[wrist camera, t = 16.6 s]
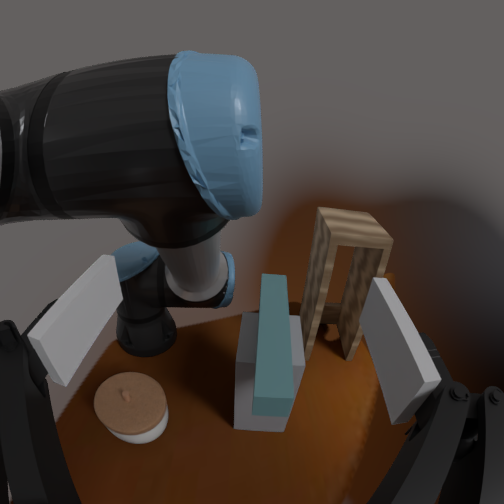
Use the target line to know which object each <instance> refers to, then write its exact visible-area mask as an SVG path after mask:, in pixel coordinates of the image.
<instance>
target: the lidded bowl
mask: <svg viewBox="0 0 504 504" xmlns="http://www.w3.org/2000/svg"><path fill="white" fill-rule="evenodd" d="M94 408H95V412H96V414H97V416H98V418H99V419H100V421H101V422H102V423H103V424H104V425H105V426H106V427H107V429H108V430H109V431H110V432H111V433H113V434H114V435H115V436H117V437H118V438H120V439H122V440H124V441H126V442H129V443H135V444H143V443H148V442H151V441H153V440H155V439H156V438H158V437H159V436H160V435H161V434H162V433H163V431H164V430H165V428H166V425H167V422H168V406H167V402H166V396H165V393H164V391H163V389H162V387H161V386H160V384H159V383H158V382H157V381H156V380H154V379H153V378H151V377H149V376H147V375H145V374H142V373H137V372H125V373H120V374H116V375H114V376H112V377H110V378H108V379H107V380H106V381H104V382H103V383H102V384H101V385H100V387H99V388H98V390H97V392H96V394H95V398H94Z"/></svg>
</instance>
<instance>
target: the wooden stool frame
mask: <svg viewBox="0 0 504 504" xmlns="http://www.w3.org/2000/svg"><path fill="white" fill-rule="evenodd" d="M392 244H393V239H392V238H391V236H390V235H389V234H388V233H387V232H386V231H385V230H384V229H383V228H382V227H381V226H380V225H379V224H378V222H376V220H375V219H374V218H373V217H372V216H371V215H370V214H369V213H366V212H358V211H350V210H342V209H333V208H324V207H318V208H317V215H316V222H315V229H314V235H313V241H312V247H311V254H310V260H309V265H308V271H307V277H306V282H305V287H304V293H303V298H302V303H301V308H300V313H299V316H300V322H301V330H302V339H303V348H304V358H305V360H309V358H310V355H311V352H312V348H313V345H314V341H315V338H316V334H317V330H318V327H319V324H337V328H338V332H339V335H340V339H341V343H342V347H343V351H344V355H345V359H346V361H352V359H353V356H354V354H355V352H356V349H357V347H358V344H359V342H360V340H361V337H362V335H363V331H362V328H361V325H360V322H359V319H360V316H361V313H362V310H363V307H364V304H365V301H366V298H367V295H368V292H369V289H370V285H371V282H372V279H373V277H374V278H383V275H384V272H385V268H386V265H387V261H388V258H389V255H390V251H391V247H392ZM338 245H346V246H355V249H354V254H353V258H352V262H351V266H350V270H349V274H348V278H347V282H346V286H345V290H344V293H343V297H342V300H341V303H325V299H326V295H327V291H328V287H329V283H330V278H331V274H332V269H333V265H334V260H335V255H336V251H337V246H338Z"/></svg>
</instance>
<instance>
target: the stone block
mask: <svg viewBox="0 0 504 504" xmlns="http://www.w3.org/2000/svg"><path fill="white" fill-rule="evenodd" d="M258 319H259V313H252V312H243V314H242V321H241V328H240V335H239V342H238V349H237V356H236V370H235V405H234V429H242V430H254V431H272V432H284V429H285V426H286V424H287V421H288V418H289V415H290V412H291V409H292V406H293V403H294V400H295V397H296V394H297V391H298V388H299V385H300V382H301V378H302V375H303V372H304V368H305V358H304V348H303V339H302V330H301V322H300V316H293V315H289V319H290V334H291V349H292V366H293V384H294V400H293V403H292V406H291V409H290V412H289V415H288V417H274V416H256V415H252V403H253V390H254V376H255V363H256V348H257V334H258Z"/></svg>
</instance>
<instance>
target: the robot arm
mask: <svg viewBox="0 0 504 504" xmlns="http://www.w3.org/2000/svg"><path fill="white" fill-rule="evenodd" d="M262 169H263V165H262V128H261V108H260V96H259V85H258V78H257V74H256V71H255V69H254V68H253V66H252V65H251V64H250V63H249V62H248V61H246V60H245V59H243V58H241V57H238V56H234V55H222V54H200V53H198V52H195V51H182V52H179V53H178V54H175V55H160V56H149V57H140V58H132V59H125V60H119V61H113V62H108V63H102V64H97V65H92V66H88V67H83V68H79V69H76V70H72V71H69V72H63V73H60V74H56V75H53V76H50V77H47V78H43V79H41V80H38V81H34V82H31V83H28V84H24V85H21V86H18V87H15V88H11V89H7V90H2V91H0V225H4V224H8V223H15V222H24V221H32V220H53V219H54V220H57V219H88V218H119V219H120V221H121V222H122V223H123V225H124V226H125V228H126V229H127V230H128V231H129V232H130V233H131V234H132V235H133V236H134V237H135V238H136V239H138V240H139V242H133V243H130V244H127V245H125V246H122V247H120V248H119V249H117V250H116V251H114V252H113V253H112V254H111V255H102V256H101V257H100V258H99V259H98V260H96V261H95V262H94V263H93V264H92V265H91V266H90V267H89V268H88V269H87V270H86V271H85V272H84V273H83V274H82V275H81V276H80V277H79V278H78V279H77V280H76V281H75V282H74V284H72V285H71V287H70V288H69V289H68V290H67V291H66V292H65V293H64V294H63V295H62V296H61V297H60V298H59V299H56V300H54V301H53V302H51V303H50V304H48V305H47V307H46V308H45V309H44V310H43V311H42V313H40V314H39V315H38V317H37V318H36V319H35V320H34V321H33V322H32V323H31V324H30V325H29V327H28V328H27V329H26V330H25V332H24V333H23V334H22V335H20V334H19V332H18V330H17V327H16V325H15V324H14V322H13V321H11V320H4V321H2V322H0V504H9V497H8V483H9V487H10V491H11V495H12V499H13V503H14V504H81V501H80V499H79V497H78V494H77V492H76V489H75V487H74V484H73V481H72V479H71V476H70V473H69V470H68V467H67V464H66V461H65V458H64V455H63V451H62V448H61V444H60V441H59V437H58V433H57V429H56V425H55V421H54V416H53V411H52V406H51V401H50V395H49V389H48V383H47V380H46V379H45V377H46V375H47V374H49V375H50V377H51V379H52V380H53V381H54V382H55V383H58V384H60V385H62V386H65V387H67V385H68V383H69V381H70V380H71V378H72V376H73V375H74V373H75V371H76V370H77V368H78V366H79V365H80V363H81V362H82V360H83V358H84V357H85V355H86V354H87V352H88V350H89V349H90V347H91V346H92V344H93V342H94V341H95V340H96V338H97V337H98V335H99V333H100V332H101V330H102V329H103V327H104V326H105V325H106V323H107V321H108V320H109V319H110V317H111V316H112V314H113V313H114V311H115V310H117V313H118V318H117V330H116V333H117V338H118V341H119V344H120V346H121V347H122V349H123V350H124V351H126V352H127V353H129V354H131V355H134V356H139V357H150V356H155V355H158V354H161V353H163V352H165V351H166V350H168V349H169V348H170V347H171V346H172V345H173V344H174V342H175V340H176V337H177V330H176V325H175V322H174V320H173V318H172V316H171V315H170V313H169V311H168V310H167V308H166V307H185V308H214V309H217V308H219V307H227V306H228V305H229V304H230V303H231V301H232V298H233V292H234V285H235V268H234V261H233V258H232V255H231V254H230V253H228V252H224V251H220V241H221V230H222V229H223V228H224V227H225V226H226V225H227V223H228V222H229V221H230V220H237V219H239V218H240V217H249V216H253V215H255V214H256V213H258V212H259V210H260V208H261V205H262V191H263V190H262V189H263V170H262ZM359 322H360V325H361V328H362V331H363V333H364V336H365V339H366V342H367V345H368V348H369V351H370V354H371V357H372V360H373V363H374V366H375V369H376V372H377V375H378V379H379V382H380V385H381V388H382V392H383V395H384V399H385V402H386V405H387V409H388V413H389V416H390V420H391V424H392V425H393V424H399V423H404V422H408V421H409V420H410V419H411V417H412V416H413V415H414V414H415V416H416V419H417V421H416V422H415V423H414V424H413V426H411V427H410V429H408V431H407V432H406V433H405V435H407V434H408V433H409V432H410V433H409V435H408V437H407V439H406V441H405V442H404V445H403V446H402V448H401V450H400V452H399V454H398V455H397V457H396V459H395V461H394V462H393V464H392V466H391V468H390V469H389V471H388V473H387V474H386V476H385V477H384V479H383V481H382V482H381V484H380V485H379V487H378V488H377V490H376V491H375V493H374V494H373V496H372V497H371V498H370V500H369V501H368V502H367V504H434V503H435V501H436V499H437V497H438V495H439V492H440V490H441V488H442V490H441V494H440V498H439V502H438V504H504V394H503V392H502V391H501V390H500V389H499V388H497V387H495V386H490V387H488V388H486V390H485V391H484V392H483V393H482V394H474V393H469V391H468V389H467V388H466V387H465V386H464V385H463V384H461V383H459V382H453V380H452V378H451V376H450V374H449V372H448V370H447V368H446V366H445V364H444V362H443V360H442V358H441V357H440V354H439V352H438V351H437V350H436V347H435V345H434V343H433V341H432V340H431V339H430V338H429V337H428V336H427V335H426V334H425V333H418V332H417V330H416V328H415V327H414V325H413V323H412V321H411V319H410V317H409V316H408V314H407V312H406V311H405V309H404V307H403V305H402V304H401V302H400V300H399V299H398V297H397V295H396V293H395V292H394V290H393V289H392V287H391V285H390V284H389V282H388V280H387V279H386V278H374V277H373V279H372V282H371V285H370V289H369V292H368V295H367V298H366V301H365V304H364V307H363V310H362V313H361V316H360V319H359ZM477 434H478V440H477ZM7 479H8V480H7Z"/></svg>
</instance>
